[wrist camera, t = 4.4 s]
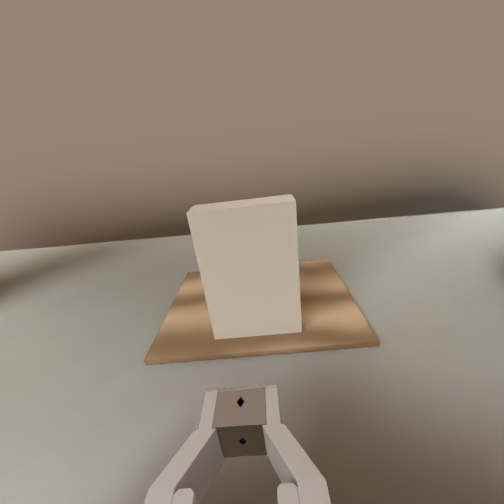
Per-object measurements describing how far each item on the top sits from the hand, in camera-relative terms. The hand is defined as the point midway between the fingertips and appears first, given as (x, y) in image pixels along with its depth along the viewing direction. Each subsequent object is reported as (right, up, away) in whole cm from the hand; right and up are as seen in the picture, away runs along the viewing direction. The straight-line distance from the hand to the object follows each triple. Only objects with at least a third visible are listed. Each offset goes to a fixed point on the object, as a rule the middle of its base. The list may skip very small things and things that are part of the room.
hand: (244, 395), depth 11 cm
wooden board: (+1, 0, +18) cm, 18 cm away
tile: (+1, -1, +14) cm, 14 cm away
